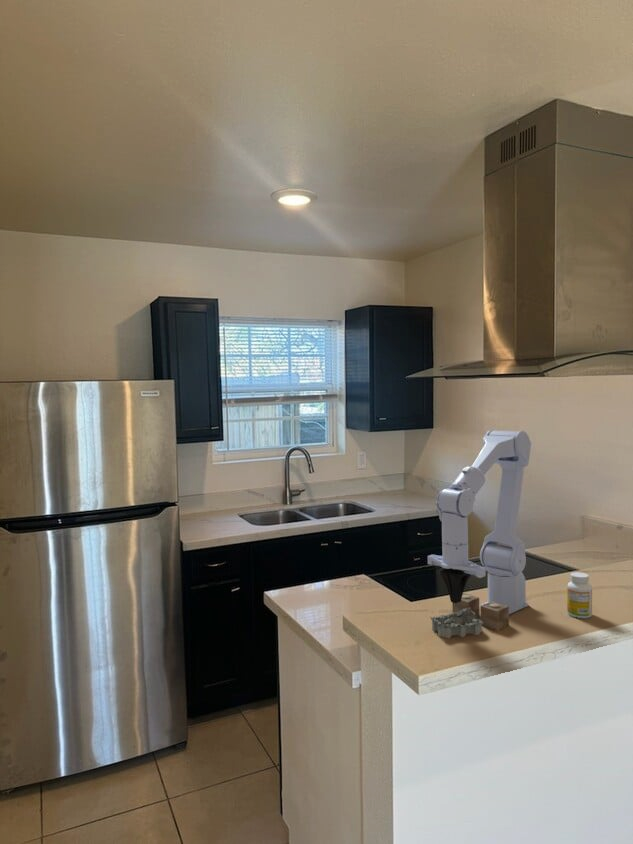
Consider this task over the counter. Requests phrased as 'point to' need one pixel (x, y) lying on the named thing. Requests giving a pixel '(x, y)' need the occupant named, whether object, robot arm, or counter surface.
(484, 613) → the dotted block
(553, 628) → the counter surface
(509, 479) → the robot arm
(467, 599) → the dotted block
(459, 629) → the egg carton
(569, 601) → the supplement bottle
